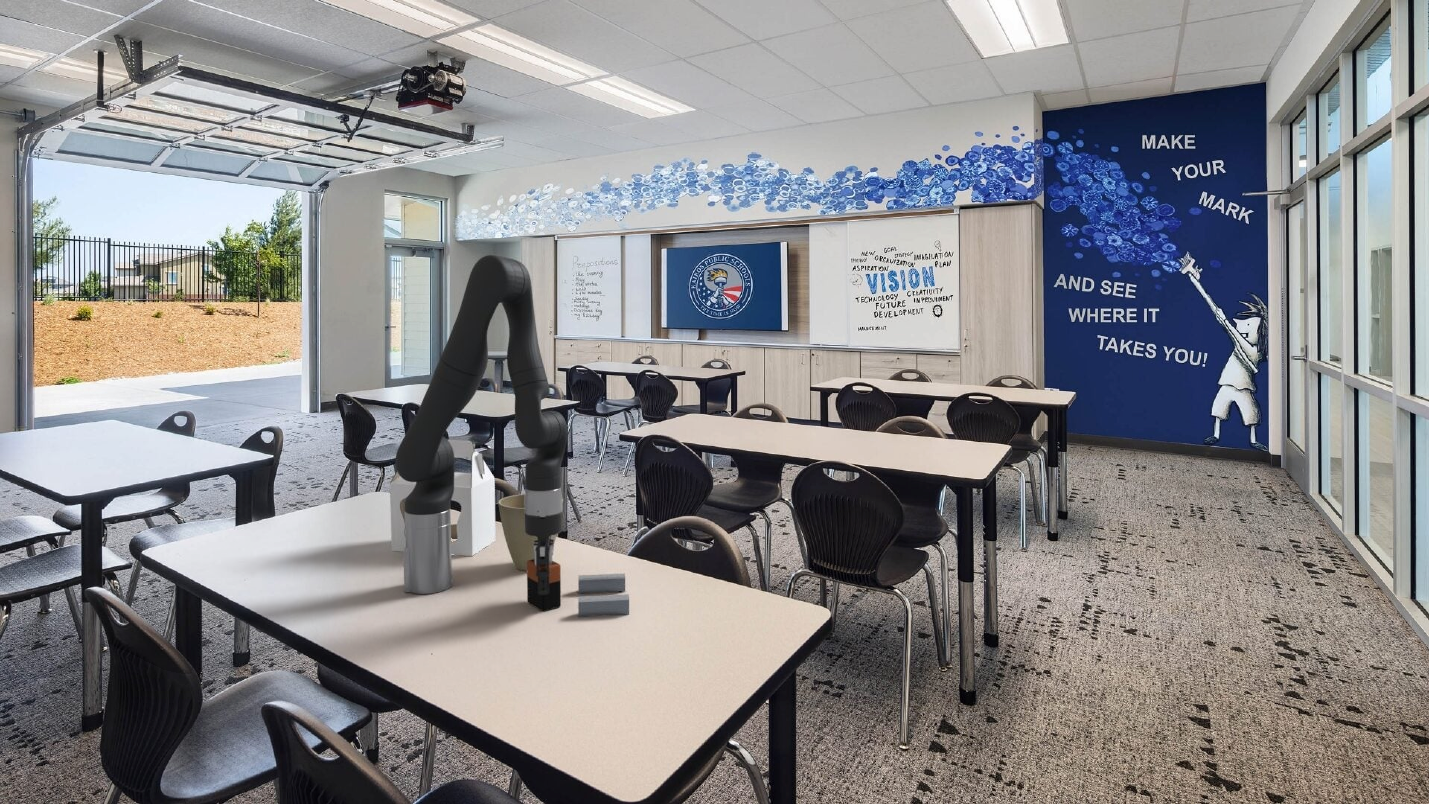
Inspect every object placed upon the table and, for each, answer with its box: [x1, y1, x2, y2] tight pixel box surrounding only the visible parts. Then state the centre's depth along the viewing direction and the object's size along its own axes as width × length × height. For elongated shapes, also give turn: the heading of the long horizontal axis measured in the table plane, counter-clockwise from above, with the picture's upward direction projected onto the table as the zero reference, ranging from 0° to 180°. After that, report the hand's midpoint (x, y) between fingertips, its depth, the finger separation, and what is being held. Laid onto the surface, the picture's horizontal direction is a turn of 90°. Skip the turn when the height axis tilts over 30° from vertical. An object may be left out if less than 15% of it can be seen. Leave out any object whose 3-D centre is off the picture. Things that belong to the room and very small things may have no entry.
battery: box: [526, 559, 562, 612], centre depth 155 cm, size 4×7×10 cm, turn 42°
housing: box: [577, 573, 630, 618], centre depth 157 cm, size 10×15×3 cm, turn 10°
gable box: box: [389, 438, 496, 557], centre depth 193 cm, size 22×13×28 cm, turn 81°
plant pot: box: [498, 493, 564, 571], centre depth 179 cm, size 15×15×16 cm
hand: (544, 586), depth 155 cm, fingers open, 8 cm apart
